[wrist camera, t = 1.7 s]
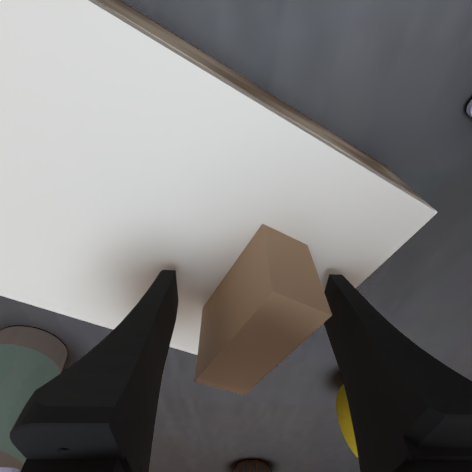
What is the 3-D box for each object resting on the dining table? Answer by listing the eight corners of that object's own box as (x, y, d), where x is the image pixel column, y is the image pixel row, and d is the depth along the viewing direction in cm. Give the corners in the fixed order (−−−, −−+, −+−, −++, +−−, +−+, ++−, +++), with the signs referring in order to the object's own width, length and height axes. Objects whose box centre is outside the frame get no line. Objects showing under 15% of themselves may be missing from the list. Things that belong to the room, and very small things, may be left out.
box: (385, 166, 17) (424, 200, 13) (257, 313, 24) (261, 359, 20) (47, -46, 11) (-27, -76, 8) (10, 222, 18) (-38, 264, 15)
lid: (427, 203, 13) (511, 277, 9) (261, 363, 20) (268, 444, 16) (-35, -79, 8) (-296, -187, 4) (-42, 267, 15) (-140, 353, 11)
